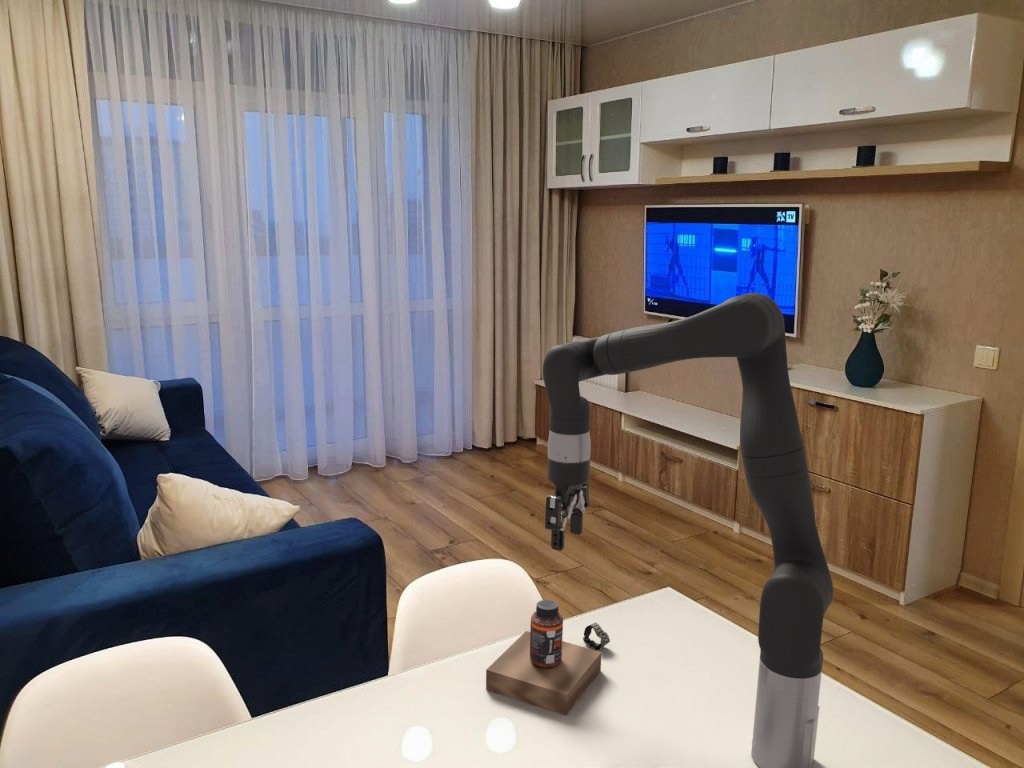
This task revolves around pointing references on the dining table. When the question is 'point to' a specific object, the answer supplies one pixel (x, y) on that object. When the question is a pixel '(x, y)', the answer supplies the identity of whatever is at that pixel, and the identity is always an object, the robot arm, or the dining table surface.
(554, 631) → the supplement bottle
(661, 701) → the dining table surface
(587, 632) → the wristwatch
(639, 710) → the dining table surface
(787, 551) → the robot arm
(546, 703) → the walnut block
